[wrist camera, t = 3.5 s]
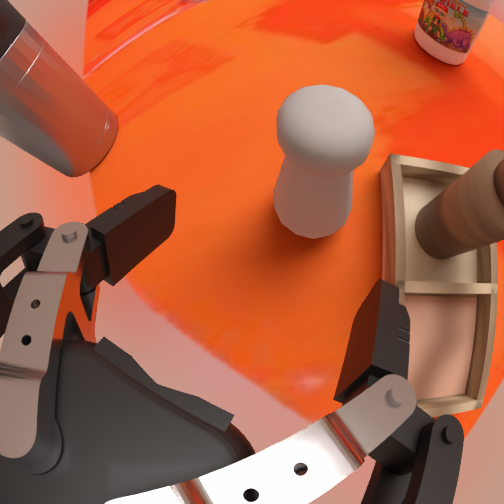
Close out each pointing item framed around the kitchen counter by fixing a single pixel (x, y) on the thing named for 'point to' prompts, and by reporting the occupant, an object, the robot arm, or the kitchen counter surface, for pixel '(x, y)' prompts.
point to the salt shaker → (320, 158)
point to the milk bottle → (451, 27)
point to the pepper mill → (465, 211)
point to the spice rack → (438, 292)
